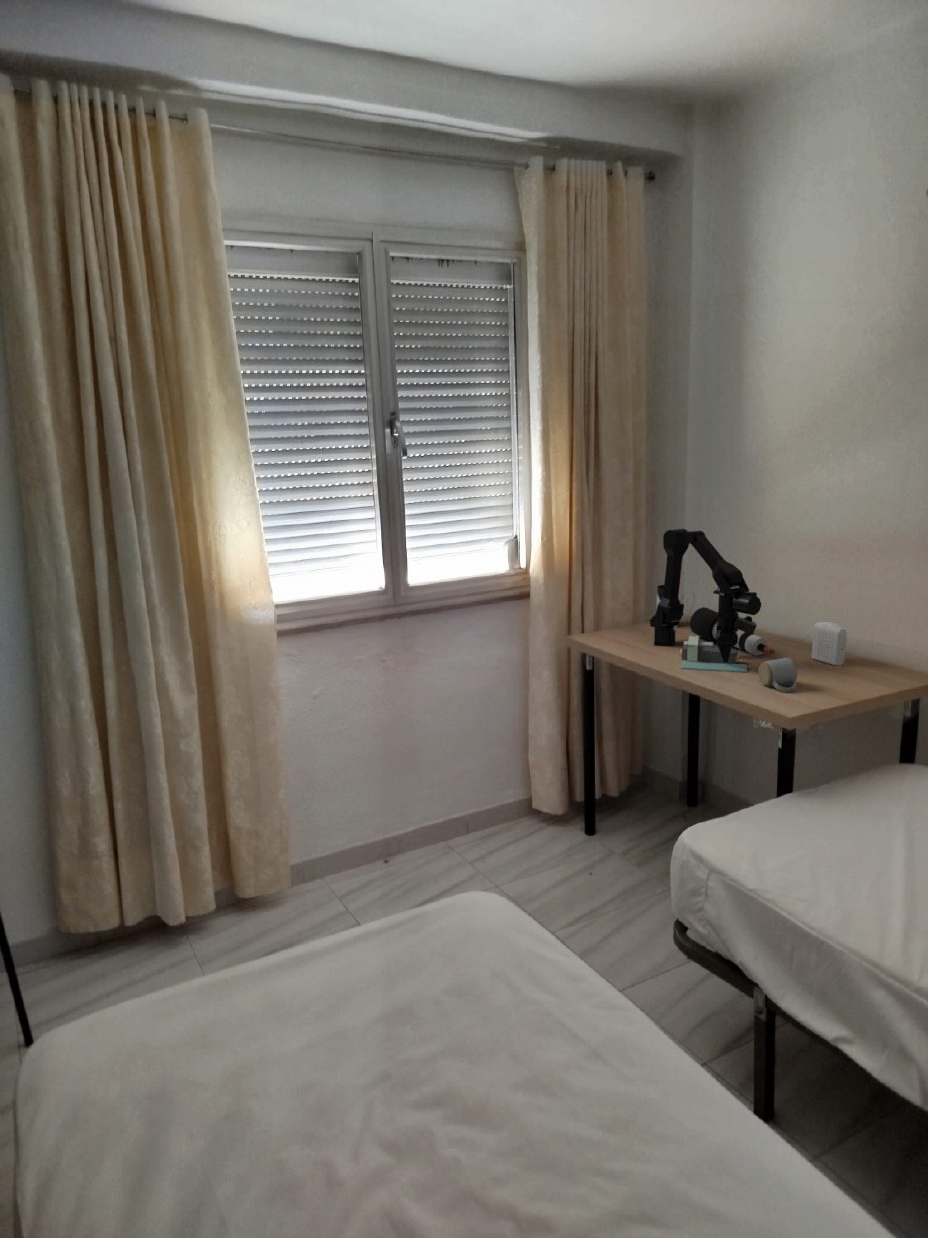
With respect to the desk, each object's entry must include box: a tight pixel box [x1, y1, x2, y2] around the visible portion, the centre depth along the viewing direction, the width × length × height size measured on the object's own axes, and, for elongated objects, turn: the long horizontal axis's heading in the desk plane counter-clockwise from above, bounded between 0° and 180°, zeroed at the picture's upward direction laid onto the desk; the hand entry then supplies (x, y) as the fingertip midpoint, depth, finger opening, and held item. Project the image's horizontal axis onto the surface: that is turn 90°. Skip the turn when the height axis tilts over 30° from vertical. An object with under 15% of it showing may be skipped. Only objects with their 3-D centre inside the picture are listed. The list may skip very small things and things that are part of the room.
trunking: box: [683, 640, 714, 648], centre depth 257 cm, size 9×4×4 cm, turn 73°
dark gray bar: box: [679, 645, 740, 664], centre depth 250 cm, size 18×4×4 cm, turn 62°
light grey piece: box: [686, 635, 700, 662], centre depth 255 cm, size 3×13×6 cm, turn 163°
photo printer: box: [811, 621, 847, 667], centre depth 245 cm, size 10×4×12 cm, turn 25°
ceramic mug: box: [757, 657, 798, 693], centre depth 222 cm, size 11×8×8 cm
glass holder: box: [655, 584, 696, 629], centre depth 296 cm, size 9×14×15 cm, turn 67°
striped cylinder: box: [689, 606, 775, 656], centre depth 265 cm, size 10×34×10 cm, turn 24°
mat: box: [680, 661, 748, 673], centre depth 243 cm, size 19×7×1 cm, turn 73°
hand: (725, 658), depth 249 cm, fingers open, 9 cm apart
